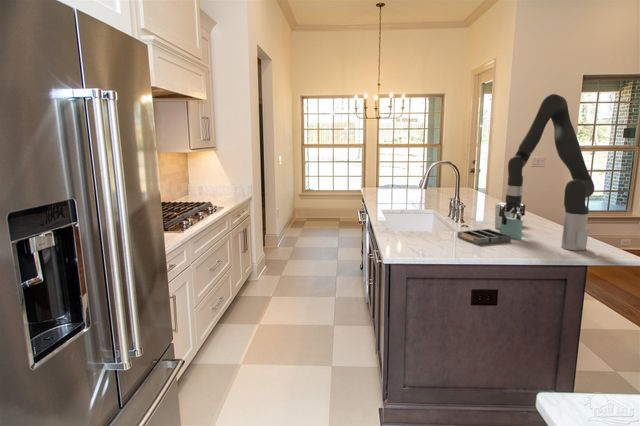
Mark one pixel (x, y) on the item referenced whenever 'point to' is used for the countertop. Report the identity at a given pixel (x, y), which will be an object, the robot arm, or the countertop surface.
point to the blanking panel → (512, 228)
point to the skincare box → (497, 217)
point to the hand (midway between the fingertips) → (511, 224)
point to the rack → (484, 236)
